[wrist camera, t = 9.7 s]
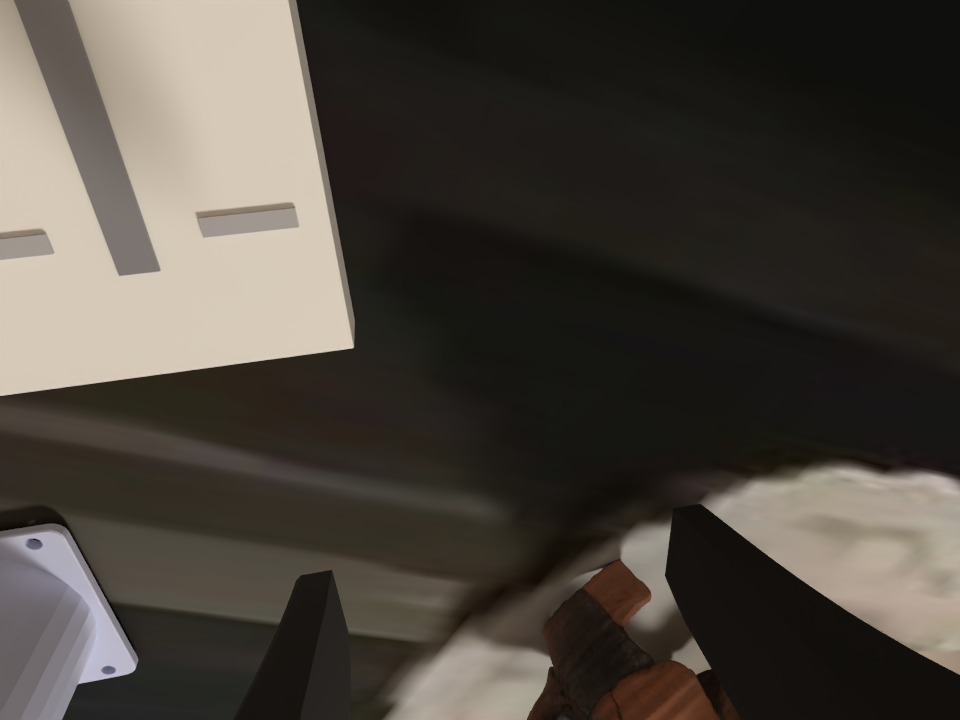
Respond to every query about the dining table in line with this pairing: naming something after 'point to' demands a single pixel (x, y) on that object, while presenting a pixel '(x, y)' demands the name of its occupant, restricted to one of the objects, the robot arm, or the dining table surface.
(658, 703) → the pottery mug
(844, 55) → the dining table surface
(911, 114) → the dining table surface
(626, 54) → the dining table surface
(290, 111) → the console board
